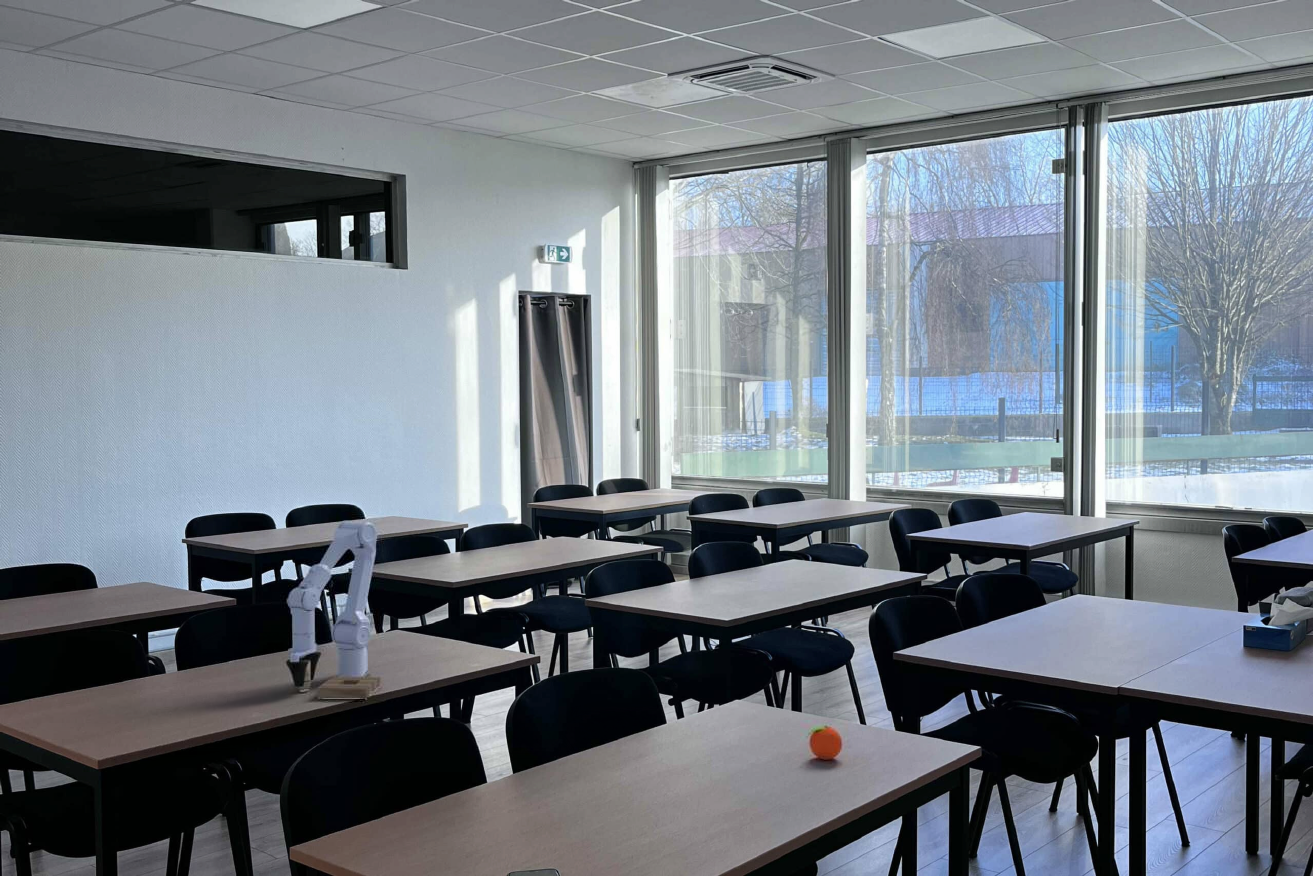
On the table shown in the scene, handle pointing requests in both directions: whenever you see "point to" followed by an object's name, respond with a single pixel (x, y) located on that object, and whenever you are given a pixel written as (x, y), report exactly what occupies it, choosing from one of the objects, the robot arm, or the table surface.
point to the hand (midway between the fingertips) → (304, 683)
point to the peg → (307, 678)
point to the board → (348, 687)
